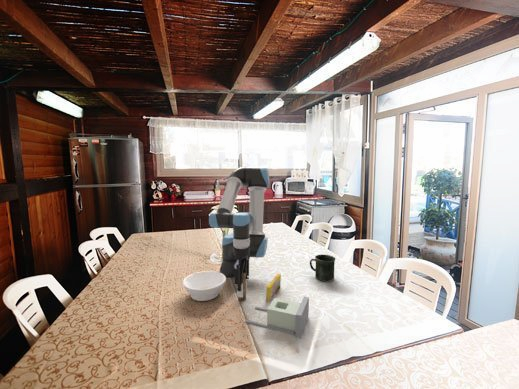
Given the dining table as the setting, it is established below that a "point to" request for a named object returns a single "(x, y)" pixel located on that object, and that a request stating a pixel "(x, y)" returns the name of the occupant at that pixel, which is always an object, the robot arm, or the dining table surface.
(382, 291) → the dining table surface
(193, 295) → the bowl
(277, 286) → the candy box
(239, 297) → the dowel
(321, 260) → the mug
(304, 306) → the board
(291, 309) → the block
